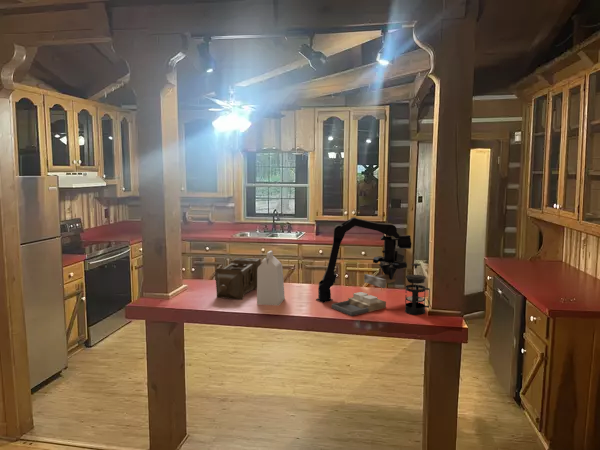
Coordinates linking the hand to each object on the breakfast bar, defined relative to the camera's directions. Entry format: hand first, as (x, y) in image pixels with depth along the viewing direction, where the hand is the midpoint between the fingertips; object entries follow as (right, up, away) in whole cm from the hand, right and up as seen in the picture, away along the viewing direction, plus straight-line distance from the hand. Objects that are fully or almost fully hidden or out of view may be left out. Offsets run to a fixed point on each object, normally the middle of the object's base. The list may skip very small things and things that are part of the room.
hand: (389, 278), depth 231 cm
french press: (+9, -14, -17) cm, 24 cm away
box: (-22, -13, -13) cm, 28 cm away
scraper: (-3, -2, -1) cm, 3 cm away
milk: (-60, -12, +3) cm, 61 cm away
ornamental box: (-80, -11, +17) cm, 83 cm away
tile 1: (-15, -9, -5) cm, 18 cm away
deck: (-12, -12, -7) cm, 19 cm away
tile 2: (-11, -10, -11) cm, 18 cm away
